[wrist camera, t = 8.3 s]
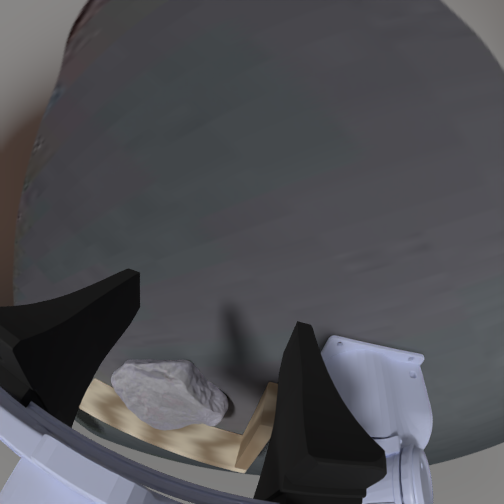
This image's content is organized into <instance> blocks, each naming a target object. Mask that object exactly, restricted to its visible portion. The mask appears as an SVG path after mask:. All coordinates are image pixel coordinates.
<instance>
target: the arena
mask: <svg viewBox="0 0 504 504" xmlns="http://www.w3.org/2000/svg"><path fill="white" fill-rule="evenodd" d="M277 391H278V384H276V383H272V382H269V383H268V385H267V387H266V389H265V391H264V393H263V395H262V397H261V400H260V402H259V404H258V406H257V408H256V410H255V412H254V414H253V416H252V418H251V420H250V422H249V424H248V426H247V428H246V430H245V432H244V434H243V435H240V434H236V433H232V432H229V431H225V430H222V429H218V428H215V427H212V426H207V425H205V424H191V425H188V426H185V427H183V428H180V429H173V430H159V429H155V428H153V427H151V426H150V425H148V424H147V423H145V422H143V421H142V420H140V419H139V418H138V417H137V416H136V415H135V414H134V413H133V412H132V411H130V410H129V409H128V408H127V406H126V405H125V403H124V402H123V401H122V400H121V398H120V397H119V396H118V395H117V393H116V392H115V390H114V388H113V387H111V386H109V385H107V384H105V383H103V382H101V381H99V380H97V379H94V380H93V381H92V383H91V384H90V386H89V387H88V389H87V391H86V393H85V395H84V397H83V399H82V402H81V404H80V406H79V408H80V409H81V410H83V411H85V412H87V413H88V414H90V415H92V416H94V417H96V418H98V419H99V420H101V421H103V422H105V423H107V424H109V425H111V426H113V427H115V428H117V429H119V430H121V431H123V432H126V433H128V434H130V435H132V436H134V437H137V438H139V439H141V440H143V441H146V442H148V443H151V444H153V445H155V446H158V447H161V448H163V449H166V450H168V451H171V452H174V453H177V454H179V455H182V456H185V457H188V458H191V459H194V460H197V461H200V462H204V463H207V464H210V465H214V466H217V467H221V468H225V469H228V470H232V471H236V472H241V473H245V471H246V470H247V469H248V468H249V466H250V465H251V464H252V462H253V461H254V460H255V458H256V457H257V456H258V454H259V453H260V452H261V450H262V449H263V448H264V446H265V445H266V443H267V442H268V441H269V439H270V438H271V434H272V429H273V425H274V419H275V411H276V401H277Z"/></svg>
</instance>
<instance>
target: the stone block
mask: <svg viewBox="0 0 504 504" xmlns="http://www.w3.org/2000/svg"><path fill="white" fill-rule="evenodd" d="M111 382H112V385H113V388H114V390H115V392H116V393H117V395H118V396H119V397H120V398H121V400H122V401H123V402H124V403H125V405H126V406H127V408H128V409H129V410H130V411H132V412H133V413H134V414H135V415H136V416H137V417H138V418H139V419H140V420H142V421H143V422H145V423H147V424H148V425H150V426H151V427H153V428H155V429H159V430H173V429H180V428H183V427H185V426H188V425H191V424H205V425H207V426H214V425H217V424H218V423H219V422H220V421H221V420H222V419H223V417H224V415H225V413H226V411H227V410H228V399H227V396H226V395H225V394H224V393H223V392H222V391H220V389H219V388H218V387H216V386H215V385H214V384H212V383H211V382H210V381H208V380H206V379H205V378H204V377H203V375H202V374H201V372H200V371H199V369H198V368H197V367H196V366H195V365H194V364H193V363H192V362H190V361H188V360H162V361H161V360H152V359H145V360H144V359H138V360H132V359H130V360H127V361H126V362H125V363H124V365H123V366H122V367H120V368H119V369H117V370H115V372H114V373H113V375H112V378H111Z"/></svg>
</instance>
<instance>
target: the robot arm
mask: <svg viewBox="0 0 504 504" xmlns="http://www.w3.org/2000/svg"><path fill="white" fill-rule="evenodd" d="M139 308H140V272H137V271H134V270H131V269H126V270H124V271H121V272H119V273H117V274H115V275H112V276H110V277H108V278H106V279H104V280H102V281H99V282H97V283H95V284H93V285H90V286H88V287H86V288H83V289H81V290H78V291H76V292H73V293H71V294H68V295H65V296H62V297H58V298H55V299H51V300H47V301H43V302H38V303H34V304H28V305H20V306H8V307H0V440H1V441H2V442H3V443H4V444H5V445H6V446H8V447H9V448H10V449H11V450H12V451H13V452H14V453H16V454H17V455H18V456H19V457H20V458H21V459H20V461H19V462H18V464H17V465H16V467H15V469H14V470H13V472H12V474H11V475H10V477H9V479H8V481H7V482H6V484H5V486H4V488H3V489H2V491H1V493H0V504H183V503H180V502H178V501H175V500H173V499H170V498H168V497H165V496H163V495H161V494H158V493H156V492H154V491H152V490H149V489H148V488H146V487H145V486H147V487H150V488H152V489H154V490H157V491H160V492H162V493H165V494H168V495H170V496H173V497H176V498H179V499H182V500H185V501H188V502H191V503H195V504H433V486H432V479H431V473H430V468H429V464H428V461H427V458H426V455H425V453H424V451H423V450H424V448H425V447H426V445H427V443H428V441H429V439H430V435H431V431H432V424H433V416H432V410H431V406H430V402H429V398H428V394H427V390H426V386H425V382H424V378H423V375H422V371H421V368H420V365H421V364H422V362H423V361H424V356H423V355H422V354H418V353H413V352H408V351H403V350H398V349H394V348H389V347H384V346H380V345H375V344H370V343H366V342H362V341H357V340H353V339H349V338H345V337H340V336H336V335H334V336H331V337H329V338H328V340H327V342H326V344H325V346H324V348H323V349H322V351H321V353H320V350H319V347H318V344H317V341H316V338H315V335H314V331H313V328H312V326H311V325H309V324H306V323H302V322H298V321H297V323H296V326H295V328H294V330H293V333H292V335H291V337H290V340H289V342H288V344H287V346H286V349H285V351H284V353H283V358H282V362H281V367H280V372H279V381H278V391H277V401H276V411H275V419H274V425H273V429H272V434H271V438H270V442H269V446H268V450H267V454H266V458H265V462H264V465H263V469H262V472H261V476H260V479H259V482H258V485H257V489H256V492H255V495H254V498H253V499H252V498H247V497H243V496H238V495H234V494H229V493H225V492H221V491H218V490H214V489H210V488H207V487H203V486H200V485H197V484H193V483H190V482H187V481H184V480H181V479H178V478H175V477H173V476H170V475H167V474H164V473H162V472H159V471H156V470H154V469H152V468H149V467H147V466H144V465H142V464H140V463H137V462H135V461H133V460H131V459H128V458H126V457H124V456H122V455H120V454H118V453H116V452H114V451H112V450H110V449H108V448H106V447H104V446H102V445H100V444H98V443H96V442H95V441H93V440H91V439H89V438H87V437H86V436H84V435H82V434H80V433H79V432H77V431H75V430H74V429H72V425H73V422H74V419H75V416H76V414H77V411H78V409H79V406H80V404H81V402H82V399H83V397H84V395H85V393H86V391H87V389H88V387H89V385H90V383H91V381H92V379H93V377H94V375H95V373H96V371H97V370H98V368H99V366H100V364H101V363H102V361H103V360H104V358H105V357H106V355H107V354H108V353H109V351H110V350H111V349H112V347H113V346H114V345H115V343H116V342H117V341H118V339H119V338H120V337H121V336H122V334H123V333H124V332H125V330H126V329H127V328H128V326H129V325H130V324H131V322H132V320H133V318H134V317H135V315H136V313H137V311H138V310H139ZM338 342H342V343H338ZM410 357H411V358H410ZM141 484H142V485H141ZM143 485H144V486H143Z"/></svg>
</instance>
